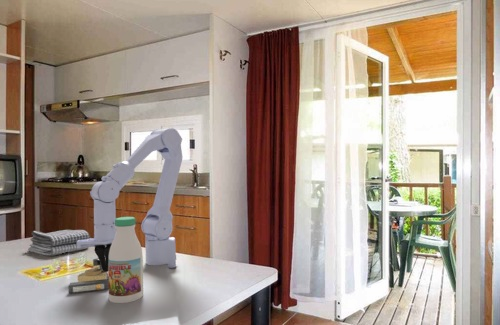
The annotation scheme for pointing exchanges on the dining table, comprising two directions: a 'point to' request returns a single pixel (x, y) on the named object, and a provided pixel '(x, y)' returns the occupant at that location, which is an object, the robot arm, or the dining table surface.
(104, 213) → the robot arm
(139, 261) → the milk bottle
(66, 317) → the dining table surface
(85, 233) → the towel
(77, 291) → the stand base
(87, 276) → the tan piece
